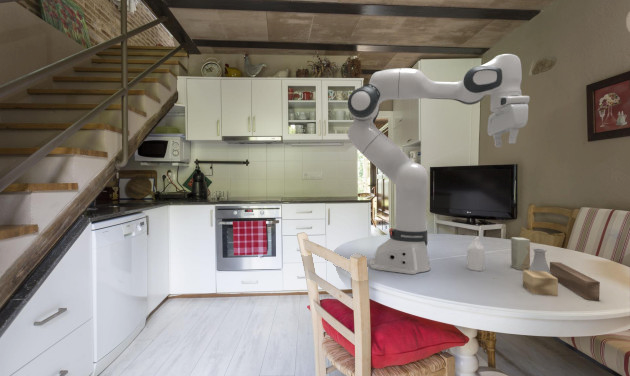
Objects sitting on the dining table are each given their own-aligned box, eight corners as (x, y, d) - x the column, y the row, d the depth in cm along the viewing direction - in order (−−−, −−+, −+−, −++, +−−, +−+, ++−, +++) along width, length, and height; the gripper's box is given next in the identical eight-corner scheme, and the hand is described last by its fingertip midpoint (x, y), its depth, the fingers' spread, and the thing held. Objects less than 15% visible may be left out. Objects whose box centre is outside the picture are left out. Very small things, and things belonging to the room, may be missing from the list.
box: (530, 270, 106) (530, 240, 106) (517, 269, 107) (517, 239, 107) (523, 266, 111) (523, 237, 111) (510, 265, 112) (510, 236, 112)
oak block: (532, 294, 84) (533, 277, 84) (522, 286, 91) (523, 270, 91) (557, 296, 83) (557, 278, 82) (545, 287, 89) (545, 271, 89)
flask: (559, 282, 94) (559, 251, 93) (542, 284, 92) (542, 252, 91) (536, 275, 101) (536, 246, 100) (520, 277, 99) (520, 247, 98)
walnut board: (585, 299, 80) (586, 281, 80) (549, 276, 99) (549, 261, 99) (599, 300, 79) (599, 282, 79) (560, 277, 98) (560, 262, 98)
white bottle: (464, 234, 112) (480, 235, 111) (464, 266, 112) (480, 266, 111) (471, 237, 106) (487, 238, 105) (470, 270, 106) (487, 271, 105)
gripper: (482, 111, 110) (482, 148, 111) (510, 96, 90) (509, 141, 91) (501, 111, 109) (500, 148, 110) (533, 95, 89) (532, 140, 90)
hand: (504, 145), depth 100 cm, fingers open, 8 cm apart
